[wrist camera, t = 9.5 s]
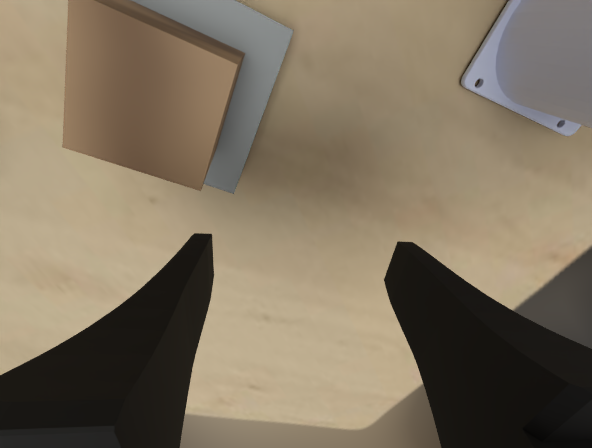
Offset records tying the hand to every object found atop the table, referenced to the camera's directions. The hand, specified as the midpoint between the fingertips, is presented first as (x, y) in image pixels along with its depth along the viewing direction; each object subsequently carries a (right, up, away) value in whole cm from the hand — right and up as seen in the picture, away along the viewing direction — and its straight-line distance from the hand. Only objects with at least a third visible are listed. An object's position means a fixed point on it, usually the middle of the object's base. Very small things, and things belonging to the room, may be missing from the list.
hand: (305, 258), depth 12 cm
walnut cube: (-6, +8, +3) cm, 10 cm away
